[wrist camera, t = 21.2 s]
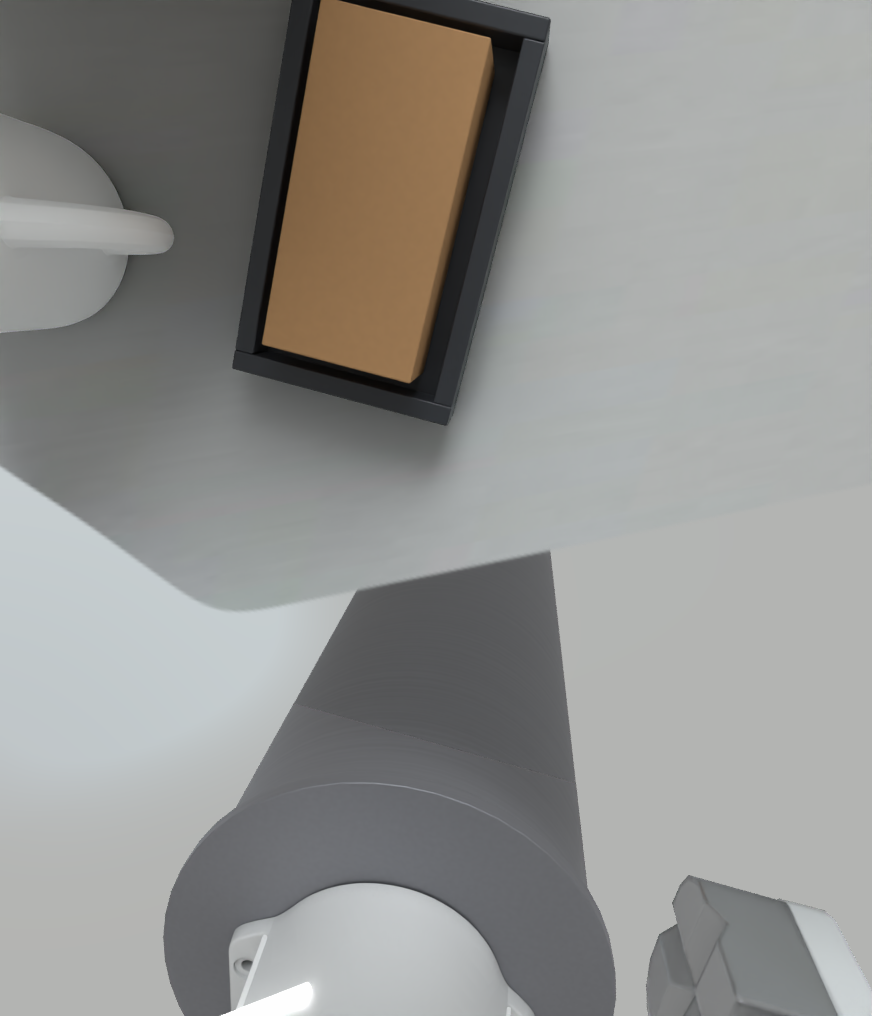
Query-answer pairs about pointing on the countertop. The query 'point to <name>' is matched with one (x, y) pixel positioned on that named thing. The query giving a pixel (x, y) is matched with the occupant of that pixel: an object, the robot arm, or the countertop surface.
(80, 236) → the mug
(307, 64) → the pad base
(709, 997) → the robot arm
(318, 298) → the pad
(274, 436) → the countertop surface
